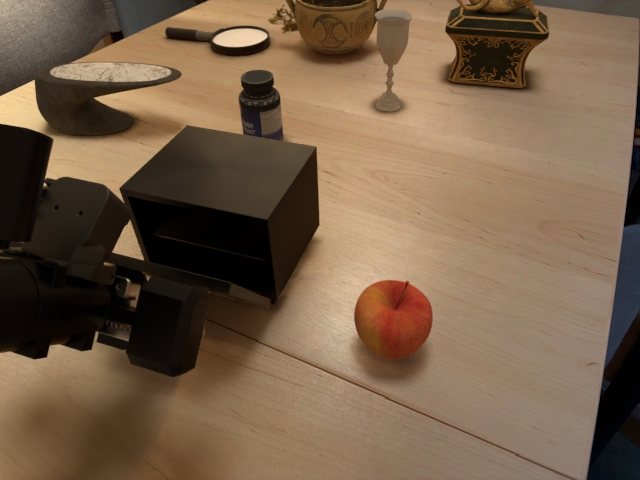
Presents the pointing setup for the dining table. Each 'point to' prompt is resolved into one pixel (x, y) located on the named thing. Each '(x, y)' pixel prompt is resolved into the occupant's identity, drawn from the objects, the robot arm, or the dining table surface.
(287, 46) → the dining table surface
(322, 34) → the ceramic bowl
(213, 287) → the oven door
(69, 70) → the coffee table
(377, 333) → the apple
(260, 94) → the pill bottle
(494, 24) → the decorative box
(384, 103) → the chalice
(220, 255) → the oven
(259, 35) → the magnifying glass
